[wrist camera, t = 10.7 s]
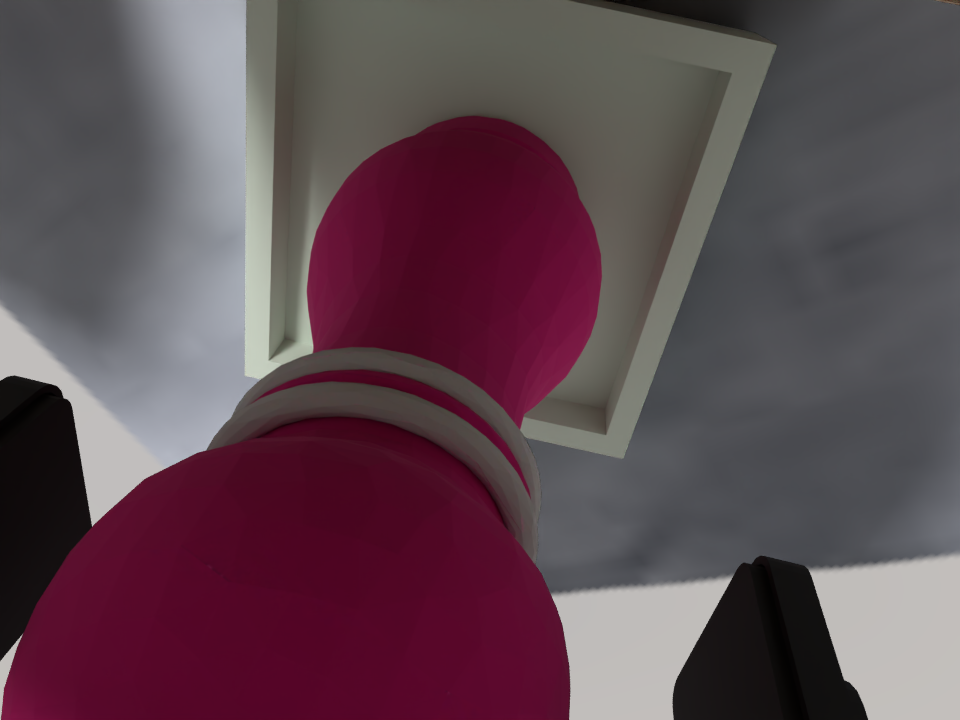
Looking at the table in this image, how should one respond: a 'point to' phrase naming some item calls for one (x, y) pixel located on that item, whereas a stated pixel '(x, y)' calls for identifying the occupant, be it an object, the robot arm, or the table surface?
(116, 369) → the table surface
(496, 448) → the pepper mill
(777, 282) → the table surface
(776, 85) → the table surface
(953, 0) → the open wooden crate
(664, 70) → the tray
